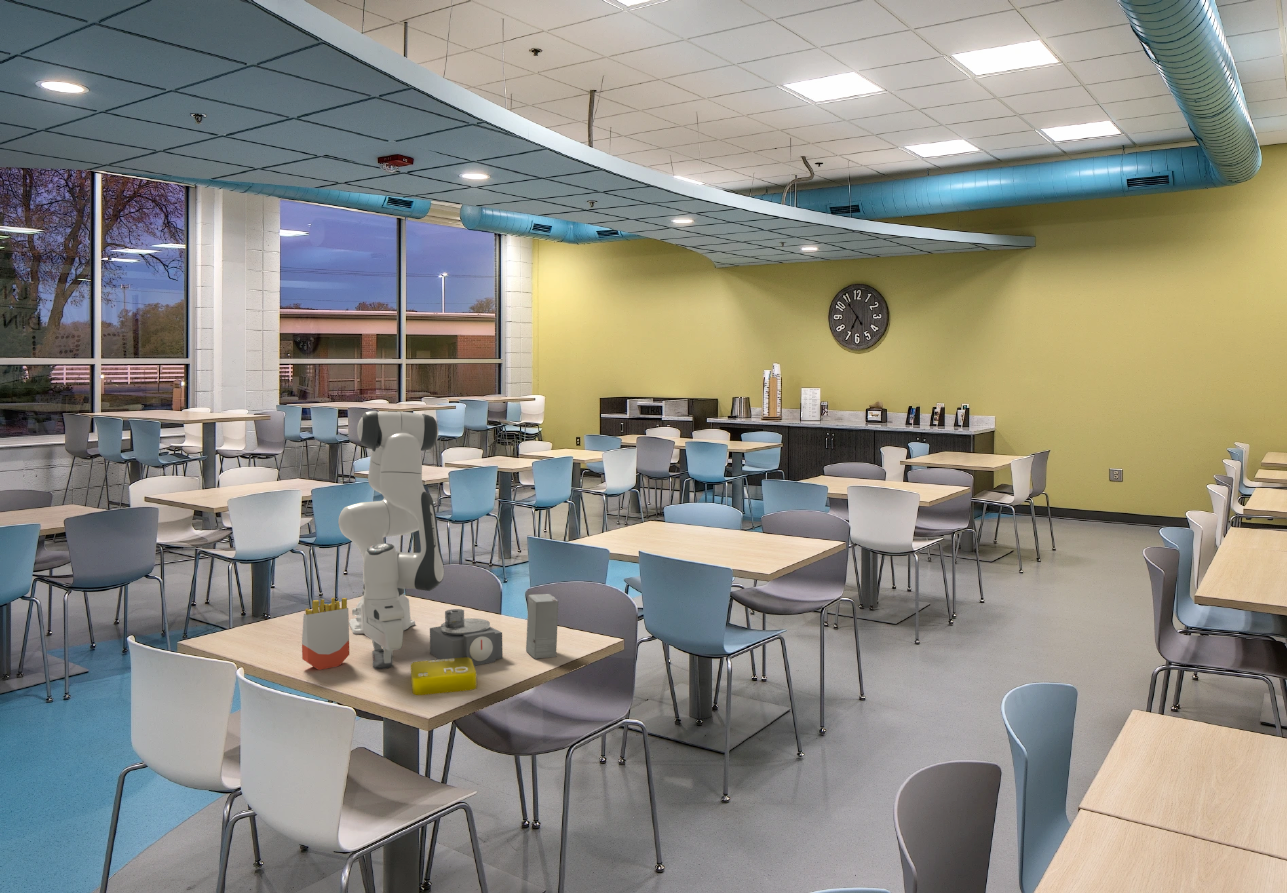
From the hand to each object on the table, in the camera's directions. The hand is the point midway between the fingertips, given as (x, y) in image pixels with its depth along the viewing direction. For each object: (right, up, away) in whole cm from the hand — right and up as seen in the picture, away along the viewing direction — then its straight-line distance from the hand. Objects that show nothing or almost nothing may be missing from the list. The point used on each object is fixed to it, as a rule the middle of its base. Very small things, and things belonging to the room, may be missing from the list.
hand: (382, 659), depth 232 cm
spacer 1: (0, -2, 0) cm, 2 cm away
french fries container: (-15, -2, +1) cm, 15 cm away
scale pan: (+20, +6, +9) cm, 23 cm away
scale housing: (+21, -1, +8) cm, 22 cm away
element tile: (+19, -3, -14) cm, 24 cm away
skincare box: (+41, -1, +10) cm, 42 cm away
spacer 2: (+17, +7, +7) cm, 20 cm away
